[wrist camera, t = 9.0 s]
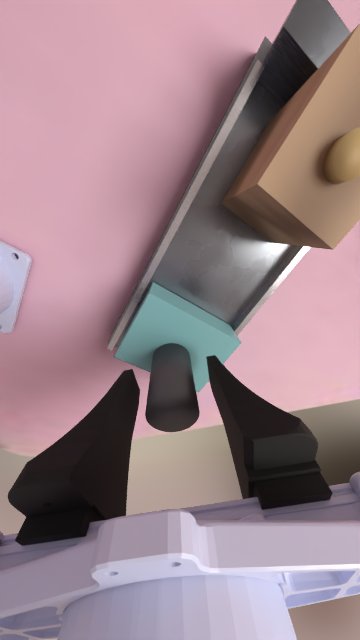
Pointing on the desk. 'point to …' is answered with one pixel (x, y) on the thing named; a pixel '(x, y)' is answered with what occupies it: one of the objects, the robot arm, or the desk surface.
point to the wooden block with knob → (308, 160)
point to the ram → (174, 354)
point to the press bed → (219, 174)
